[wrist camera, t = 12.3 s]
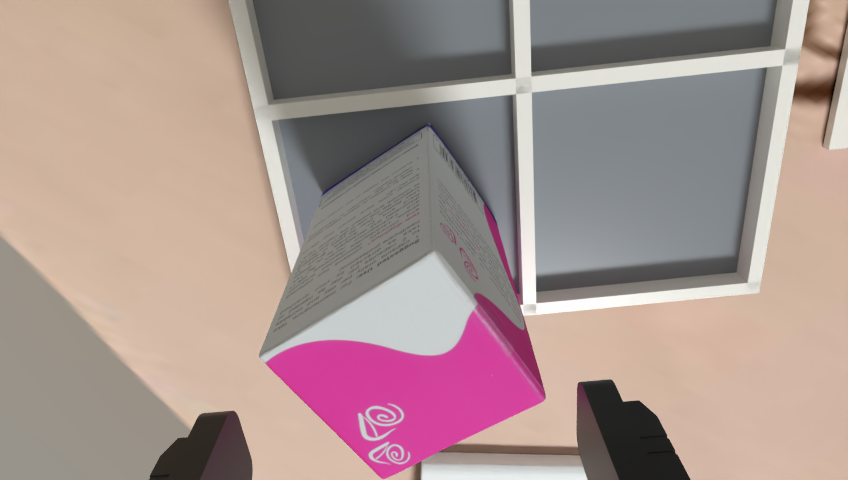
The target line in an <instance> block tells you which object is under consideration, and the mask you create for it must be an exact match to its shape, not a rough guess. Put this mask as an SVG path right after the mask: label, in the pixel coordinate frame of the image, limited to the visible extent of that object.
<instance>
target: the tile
mask: <svg viewBox="0 0 848 480" xmlns="http://www.w3.org/2000/svg"><path fill="white" fill-rule="evenodd" d="M823 147H824V148H826V149H828V150H831V149H840V148H848V25H847V29H846V34H845V39H844V44H843V49H842V54H841V59H840V64H839V69H838V74H837V79H836V84H835V89H834V94H833V99H832V104H831V109H830V114H829V119H828V124H827V129H826V134H825V139H824V143H823Z"/></svg>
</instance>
